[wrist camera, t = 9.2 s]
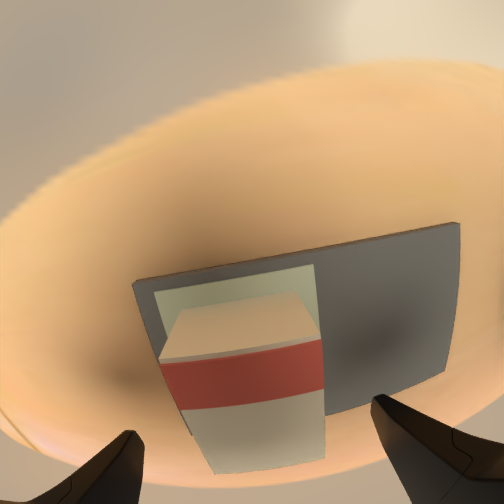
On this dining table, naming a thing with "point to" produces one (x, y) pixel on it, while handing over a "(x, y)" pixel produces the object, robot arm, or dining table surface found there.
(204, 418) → the card box
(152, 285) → the mat
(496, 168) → the dining table surface
